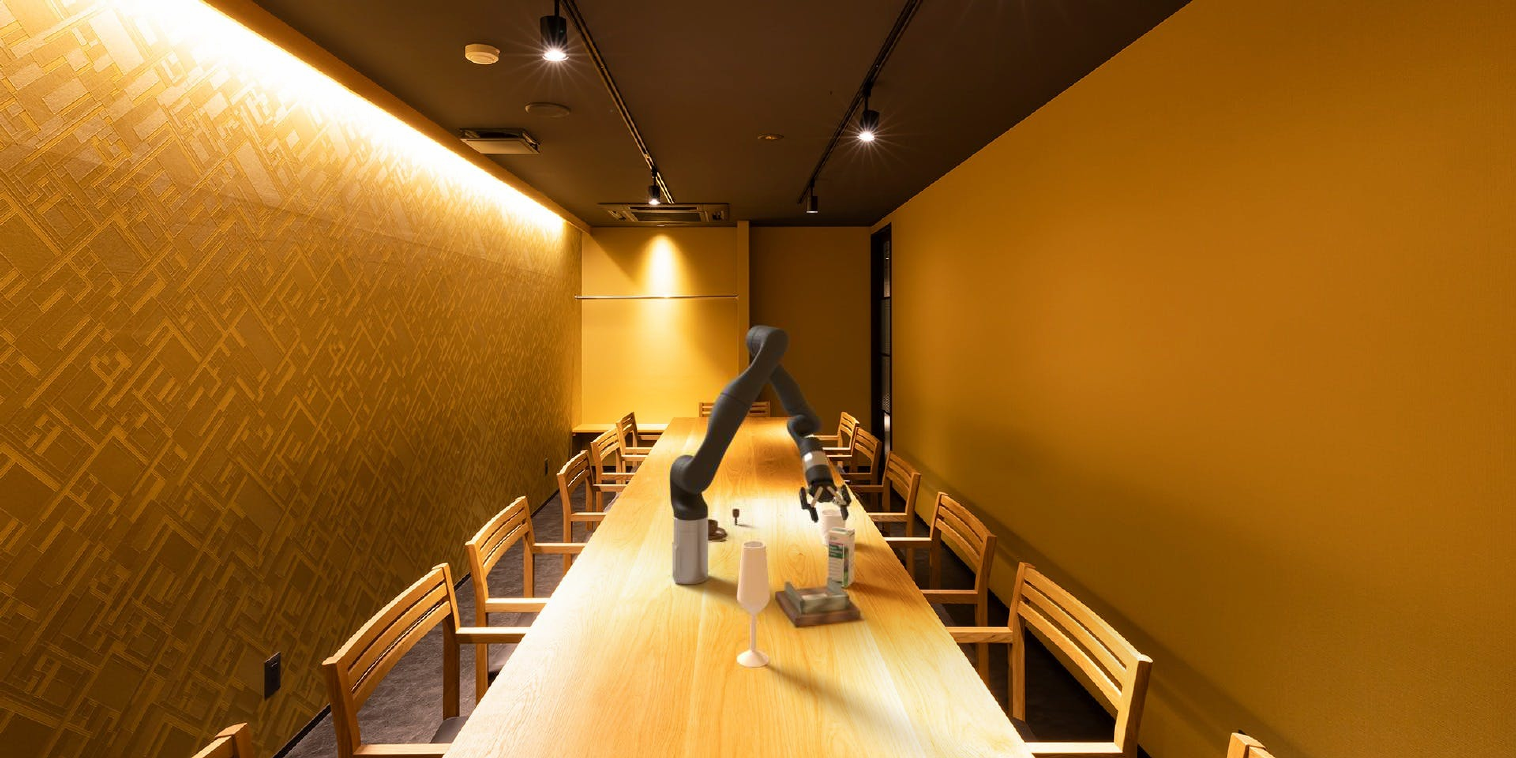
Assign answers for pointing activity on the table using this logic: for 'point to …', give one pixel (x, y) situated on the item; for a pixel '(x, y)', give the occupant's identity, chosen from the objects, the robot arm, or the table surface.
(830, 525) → the white cup
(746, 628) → the table surface
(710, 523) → the place setting
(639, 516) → the table surface
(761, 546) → the champagne flute
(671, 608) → the table surface
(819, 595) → the dock
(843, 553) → the syrup box
